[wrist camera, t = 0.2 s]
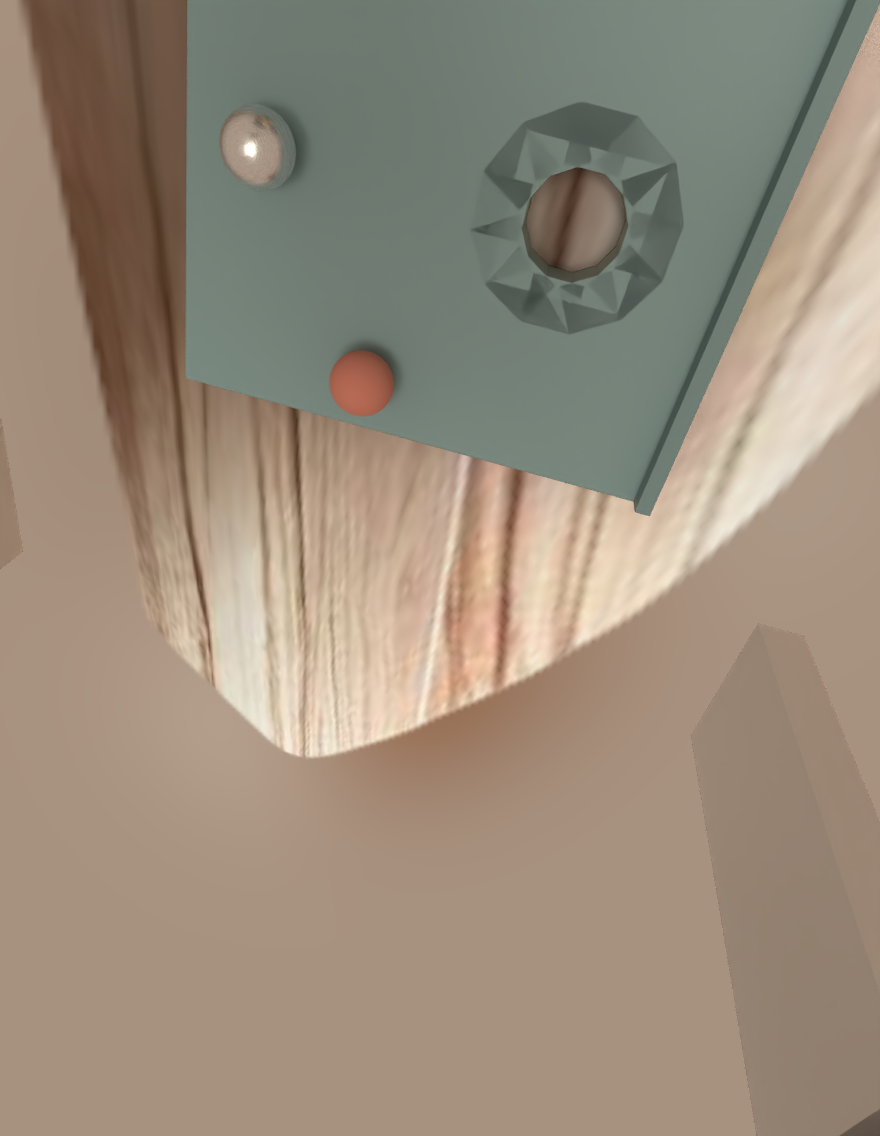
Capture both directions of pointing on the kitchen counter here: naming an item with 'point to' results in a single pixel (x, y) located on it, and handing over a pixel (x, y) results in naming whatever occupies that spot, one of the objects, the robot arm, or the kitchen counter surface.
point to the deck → (500, 210)
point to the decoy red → (361, 383)
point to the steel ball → (257, 147)
